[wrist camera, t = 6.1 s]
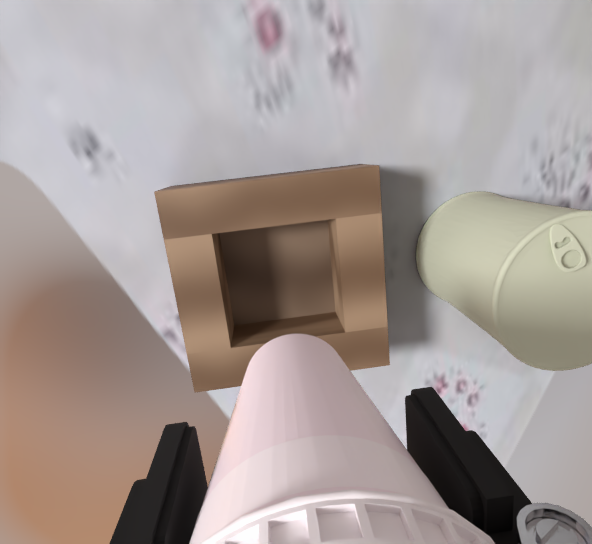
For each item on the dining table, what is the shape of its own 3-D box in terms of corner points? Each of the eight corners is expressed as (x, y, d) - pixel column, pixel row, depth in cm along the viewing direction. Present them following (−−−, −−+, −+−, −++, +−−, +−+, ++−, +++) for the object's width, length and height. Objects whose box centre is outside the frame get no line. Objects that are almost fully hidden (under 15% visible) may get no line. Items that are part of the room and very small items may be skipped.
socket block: (171, 186, 30) (154, 191, 25) (360, 163, 31) (379, 165, 26) (204, 359, 34) (194, 392, 29) (371, 336, 35) (389, 364, 30)
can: (507, 170, 32) (646, 178, 20) (539, 273, 34) (679, 332, 23) (398, 224, 32) (474, 261, 21) (438, 321, 35) (526, 403, 23)
